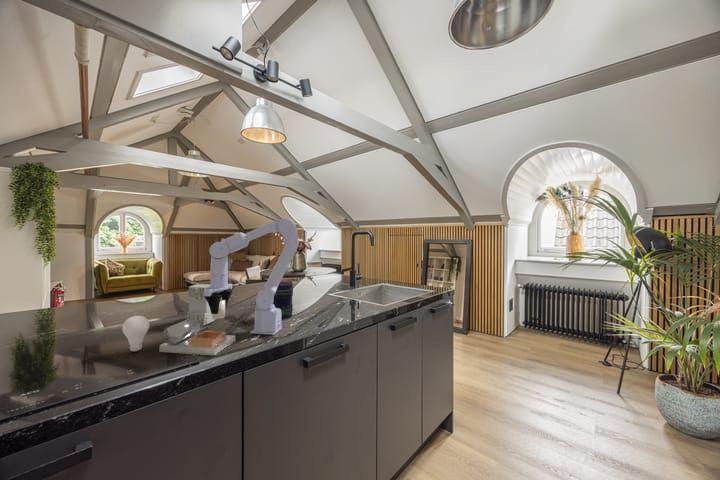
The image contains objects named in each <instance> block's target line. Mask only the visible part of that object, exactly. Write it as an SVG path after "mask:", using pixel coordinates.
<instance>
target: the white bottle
mask: <svg viewBox="0 0 720 480" xmlns="http://www.w3.org/2000/svg"><path fill="white" fill-rule="evenodd" d="M212 318H213V319H216V320H217V319H218V320H220V319H224V318H226V310H225V300H222V297H221V300H220V303H219V311H218V314H212Z"/></svg>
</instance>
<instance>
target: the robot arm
mask: <svg viewBox="0 0 720 480" xmlns="http://www.w3.org/2000/svg"><path fill="white" fill-rule="evenodd" d="M278 232H279V233H280V234H281V236H282V238H283V241H284V244H285V246H284V248H283V250H281V253H280V255H279V257H278V258H277V261H276V263H275V265H274V267H273V269H272V271H271V273H270V275H269V277H268V278H267V280H266V282H265V283H264V286H263V287H262V288H261V289H259V291H258V292H257V293H256V298H255V306H254V329H252V330H251V331H249V333H250V334H253V335H254V334H255V335H256V334H257V335H269V336H270V335H272V336H273V335H276V334H277V333H278V332H280V330H282V328H283V327H282V320H281V315H282V314H281V309H279V308H275V305H274V304H273V301H274V295H275V293H276V290H277V287H278V285H279V283H280V282H282V279H283V277H284V275H285V273H286V271H287V269H288V267H290V266H289V265H290V264H291V262H292V260H293V257H294V256H295V253H296V251H297V250H298V248H299V236H298V227H297V226H296V224H295V222H294V220H293V219H291V218H289V217H284V218H281V219H277V220H273V221H270V222H268V223H265V224H264V225H261V226H259V227H257V228H255V229H253V230H251V231H249V232H247V233H243V232H241V231H240V232H237V231H236V232H233V235H231V236H228V237H227V238H221V239H220V241H215V242H214V243H212V245H211V246H210V247H209V250H208V252H209V254H210V268H209V269H210V282H209V284H210V286H209V287H208V289H207V290H204V296H205V299H206V300H207V302H208V304H209V307H210V310H211V314H218V311H219V303H220V300H221V297H222V300H225V311H226V310H227V307H228V302H229V300H230V297H231V296H232V295H233V290H232V289H233V284H232V283H229V282H228V281H229V280H228V277H229V275H228V273H229V272H228V271H229V269H228V268H229V262H228V255H229V254H234V253H235V252H237V251H239V250H242V249H244V248H246V247H248V246H249V243H250V241H252V240H253V241H254V240H256V239H258V238H260V237H263V236H266V235H267V234H269V233H270V234H275V233H276V234H277V233H278Z"/></svg>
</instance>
